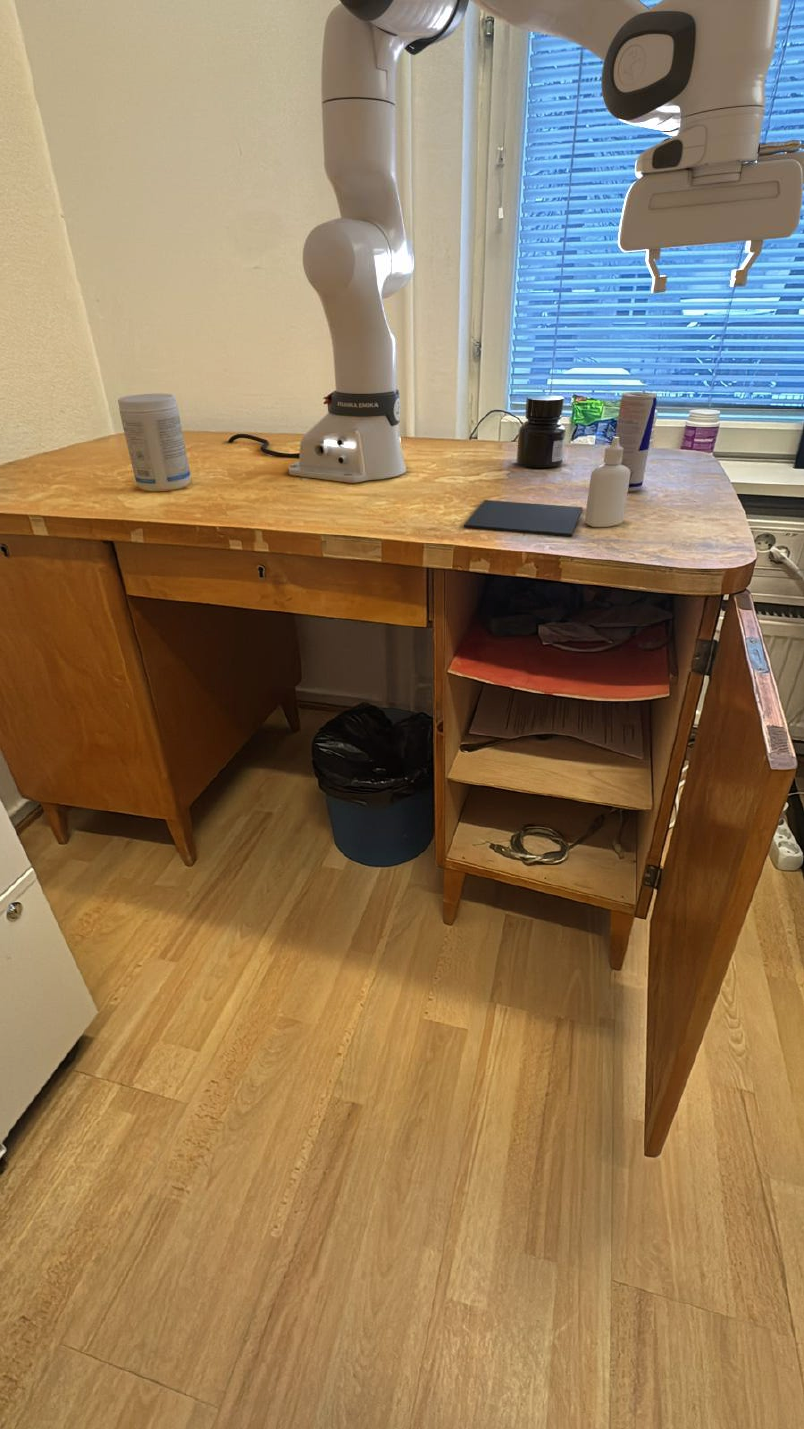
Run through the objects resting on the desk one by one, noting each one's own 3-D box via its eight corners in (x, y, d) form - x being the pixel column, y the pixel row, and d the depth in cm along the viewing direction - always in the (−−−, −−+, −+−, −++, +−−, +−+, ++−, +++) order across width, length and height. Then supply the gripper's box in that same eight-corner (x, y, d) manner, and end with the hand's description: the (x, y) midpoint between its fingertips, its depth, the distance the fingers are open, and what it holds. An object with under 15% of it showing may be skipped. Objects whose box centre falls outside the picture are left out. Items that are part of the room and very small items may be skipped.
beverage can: (643, 493, 115) (660, 396, 107) (608, 492, 116) (622, 395, 108) (640, 485, 119) (656, 391, 111) (606, 484, 120) (620, 390, 112)
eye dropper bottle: (582, 518, 103) (593, 434, 97) (621, 519, 102) (634, 434, 96) (585, 527, 99) (596, 440, 93) (625, 528, 99) (639, 440, 92)
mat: (463, 527, 100) (463, 524, 100) (484, 502, 111) (484, 500, 111) (571, 536, 96) (572, 533, 96) (582, 509, 107) (582, 507, 107)
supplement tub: (189, 477, 128) (174, 391, 120) (194, 489, 121) (179, 398, 113) (135, 482, 125) (116, 395, 118) (137, 495, 118) (117, 402, 110)
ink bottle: (566, 469, 130) (574, 401, 124) (519, 470, 130) (525, 401, 124) (557, 458, 138) (564, 393, 132) (513, 458, 138) (518, 394, 132)
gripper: (806, 141, 79) (779, 282, 87) (622, 161, 83) (612, 295, 90) (825, 133, 74) (794, 283, 81) (628, 154, 77) (617, 297, 85)
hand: (697, 289), depth 86 cm, fingers open, 8 cm apart
